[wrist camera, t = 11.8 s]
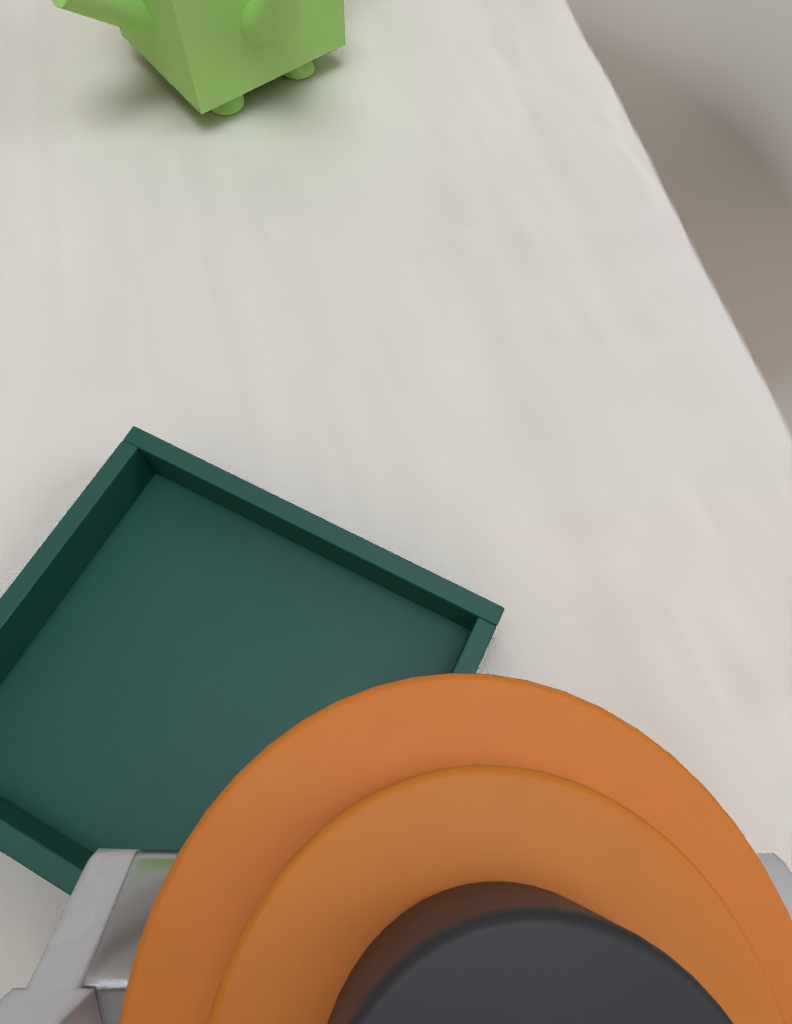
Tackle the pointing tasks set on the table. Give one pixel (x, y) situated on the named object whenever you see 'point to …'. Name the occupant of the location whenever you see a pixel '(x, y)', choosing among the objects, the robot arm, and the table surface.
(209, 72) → the kettle
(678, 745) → the table surface
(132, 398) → the table surface
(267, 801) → the glue bottle
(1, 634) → the tray
